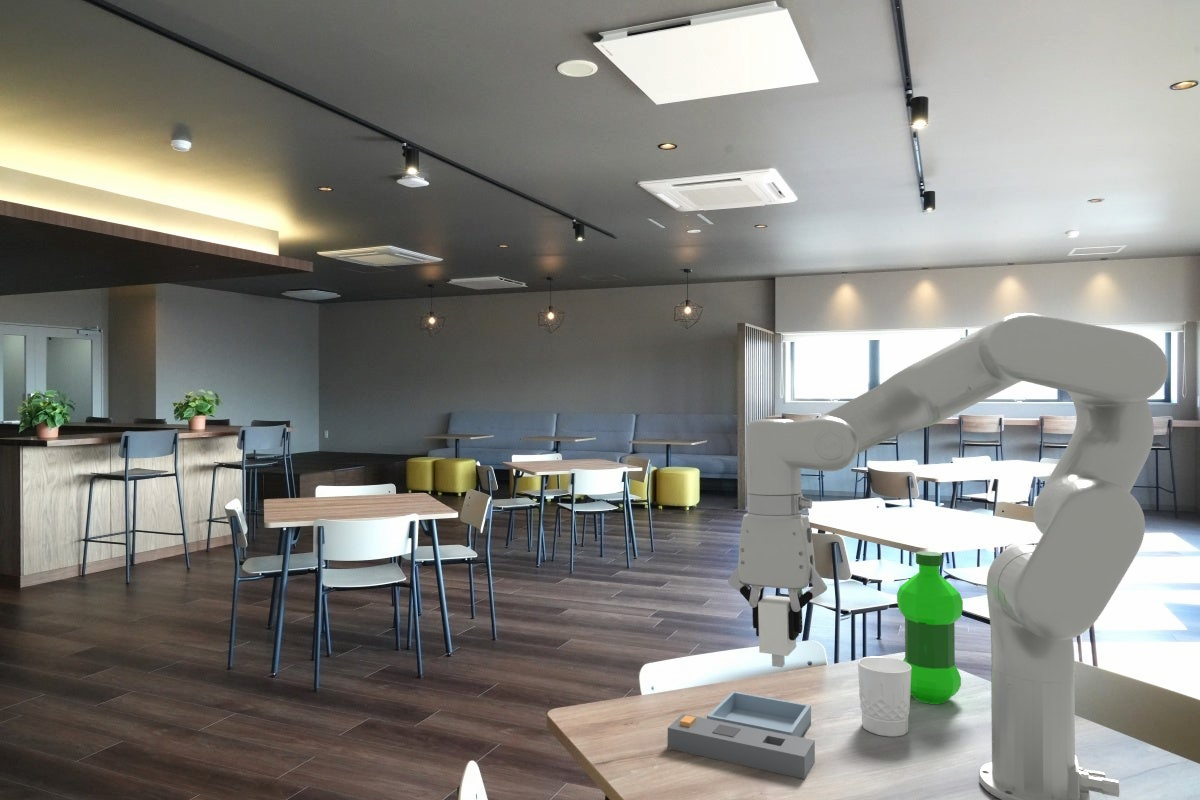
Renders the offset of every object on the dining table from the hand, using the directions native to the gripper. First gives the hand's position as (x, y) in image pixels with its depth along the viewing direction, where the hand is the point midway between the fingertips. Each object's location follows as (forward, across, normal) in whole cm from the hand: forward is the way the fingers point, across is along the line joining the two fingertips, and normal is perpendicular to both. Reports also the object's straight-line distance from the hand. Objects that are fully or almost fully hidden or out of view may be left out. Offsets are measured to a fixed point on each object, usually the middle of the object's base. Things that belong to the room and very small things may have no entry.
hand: (777, 634), depth 109 cm
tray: (+18, +6, -10) cm, 21 cm away
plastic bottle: (+19, -16, -37) cm, 44 cm away
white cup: (+19, -11, -20) cm, 29 cm away
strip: (+18, +6, 0) cm, 19 cm away
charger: (+4, 0, 0) cm, 4 cm away
